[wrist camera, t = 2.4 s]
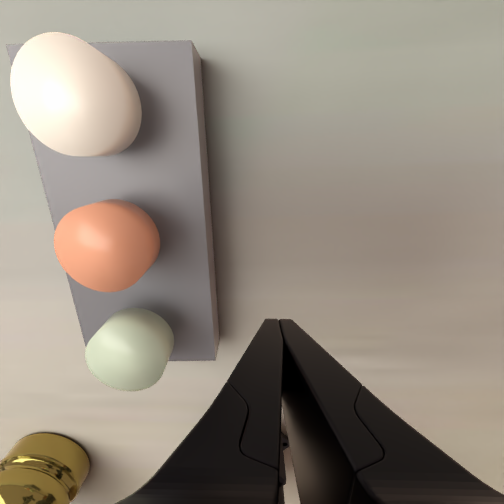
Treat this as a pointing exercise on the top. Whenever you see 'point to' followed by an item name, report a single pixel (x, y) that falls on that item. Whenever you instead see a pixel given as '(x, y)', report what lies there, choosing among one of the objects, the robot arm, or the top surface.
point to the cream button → (74, 96)
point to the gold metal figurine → (42, 470)
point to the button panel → (151, 196)
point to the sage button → (130, 349)
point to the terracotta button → (107, 244)
